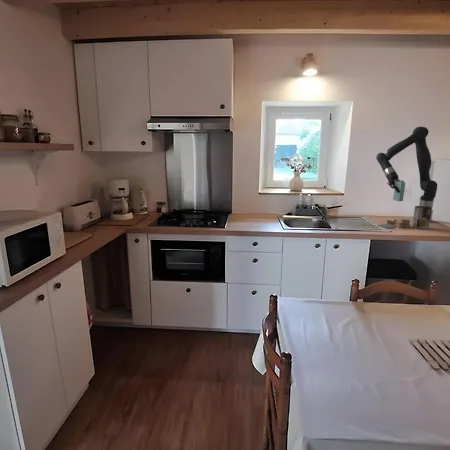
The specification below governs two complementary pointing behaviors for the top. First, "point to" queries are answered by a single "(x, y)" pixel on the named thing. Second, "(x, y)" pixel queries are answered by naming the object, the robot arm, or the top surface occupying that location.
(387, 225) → the slate mat
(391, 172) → the robot arm
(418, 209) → the coffee box
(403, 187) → the pale teal pillar
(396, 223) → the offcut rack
